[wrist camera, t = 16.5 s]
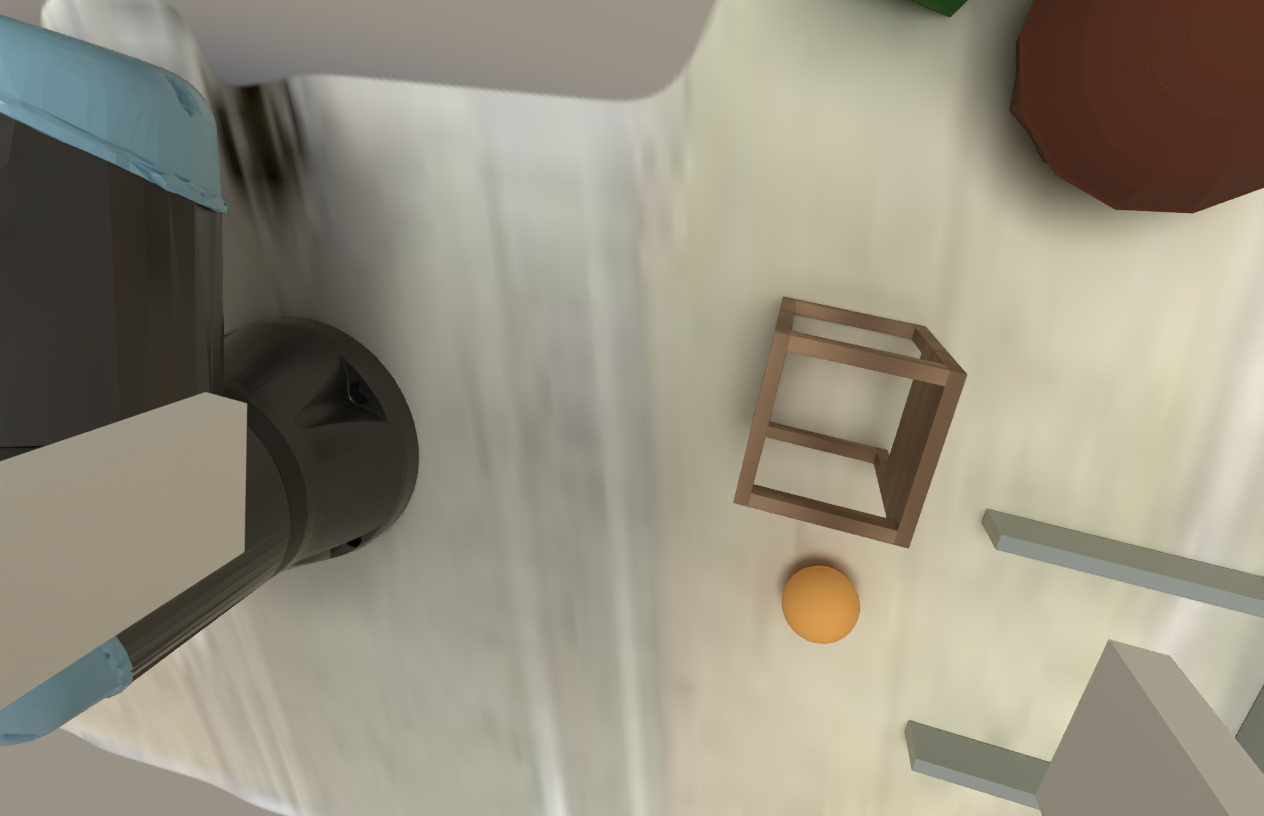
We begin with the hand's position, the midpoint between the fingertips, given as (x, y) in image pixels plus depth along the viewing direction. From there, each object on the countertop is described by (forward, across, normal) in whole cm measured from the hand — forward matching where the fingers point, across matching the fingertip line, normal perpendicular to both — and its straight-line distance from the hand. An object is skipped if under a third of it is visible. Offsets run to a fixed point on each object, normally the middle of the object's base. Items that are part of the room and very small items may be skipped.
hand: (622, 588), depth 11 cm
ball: (+26, +7, -14) cm, 31 cm away
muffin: (+28, +13, +13) cm, 34 cm away
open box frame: (+28, +5, -3) cm, 29 cm away
